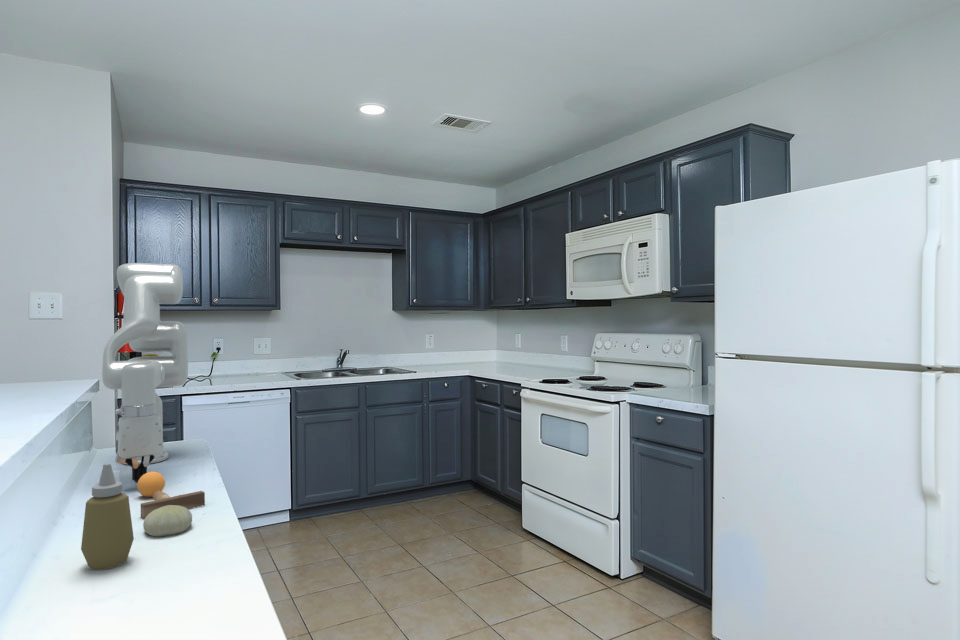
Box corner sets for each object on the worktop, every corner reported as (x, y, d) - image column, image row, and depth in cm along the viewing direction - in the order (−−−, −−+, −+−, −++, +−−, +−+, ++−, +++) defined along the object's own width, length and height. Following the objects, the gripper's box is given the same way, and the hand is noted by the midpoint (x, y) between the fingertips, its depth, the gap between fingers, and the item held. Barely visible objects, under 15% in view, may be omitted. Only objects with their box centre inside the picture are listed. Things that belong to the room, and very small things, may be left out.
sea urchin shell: (203, 513, 129) (188, 495, 123) (188, 548, 123) (172, 532, 117) (164, 511, 129) (146, 493, 124) (147, 547, 124) (128, 530, 118)
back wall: (140, 516, 131) (140, 503, 131) (201, 503, 140) (201, 490, 140) (143, 519, 130) (143, 505, 130) (204, 505, 139) (204, 492, 139)
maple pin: (155, 490, 142) (166, 498, 136) (165, 491, 144) (177, 499, 138) (151, 500, 142) (162, 508, 136) (161, 501, 143) (173, 509, 137)
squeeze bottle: (95, 577, 101) (94, 473, 101) (72, 567, 106) (71, 466, 105) (143, 560, 108) (142, 462, 108) (119, 551, 112) (118, 457, 112)
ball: (149, 492, 141) (144, 506, 144) (172, 479, 146) (167, 493, 149) (134, 474, 142) (129, 488, 145) (157, 462, 147) (152, 476, 150)
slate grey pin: (108, 507, 138) (108, 470, 138) (120, 505, 139) (120, 469, 139) (107, 510, 136) (106, 473, 136) (119, 508, 137) (118, 472, 137)
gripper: (109, 416, 144) (110, 491, 145) (175, 409, 155) (175, 479, 155) (101, 413, 150) (102, 485, 150) (165, 406, 160) (165, 473, 161)
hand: (139, 482), depth 153 cm, fingers closed
